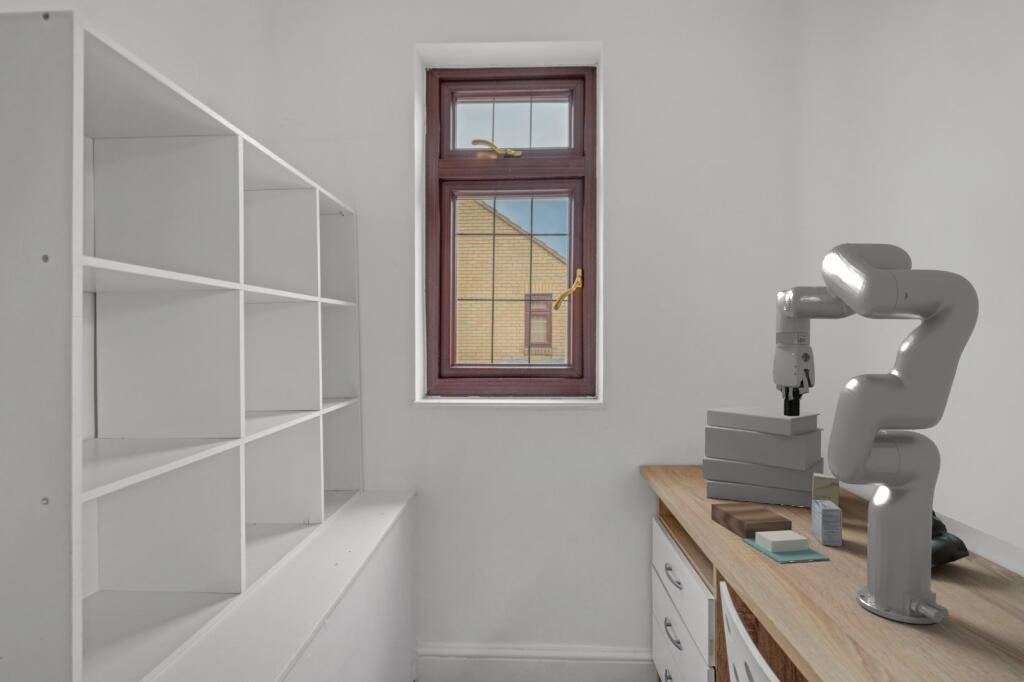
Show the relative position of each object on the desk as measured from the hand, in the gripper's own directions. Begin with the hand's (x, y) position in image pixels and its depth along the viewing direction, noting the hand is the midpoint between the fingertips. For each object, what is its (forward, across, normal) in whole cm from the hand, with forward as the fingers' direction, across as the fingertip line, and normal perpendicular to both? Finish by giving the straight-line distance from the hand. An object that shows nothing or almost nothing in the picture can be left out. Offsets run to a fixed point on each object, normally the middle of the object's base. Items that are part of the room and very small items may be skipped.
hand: (791, 415), depth 142 cm
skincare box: (+29, +8, -16) cm, 34 cm away
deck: (+29, +6, +7) cm, 31 cm away
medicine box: (+29, -5, -6) cm, 30 cm away
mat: (+29, -9, +8) cm, 31 cm away
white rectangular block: (+27, -8, +8) cm, 30 cm away
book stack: (+30, +34, -16) cm, 48 cm away
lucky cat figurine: (+29, -21, -15) cm, 39 cm away
